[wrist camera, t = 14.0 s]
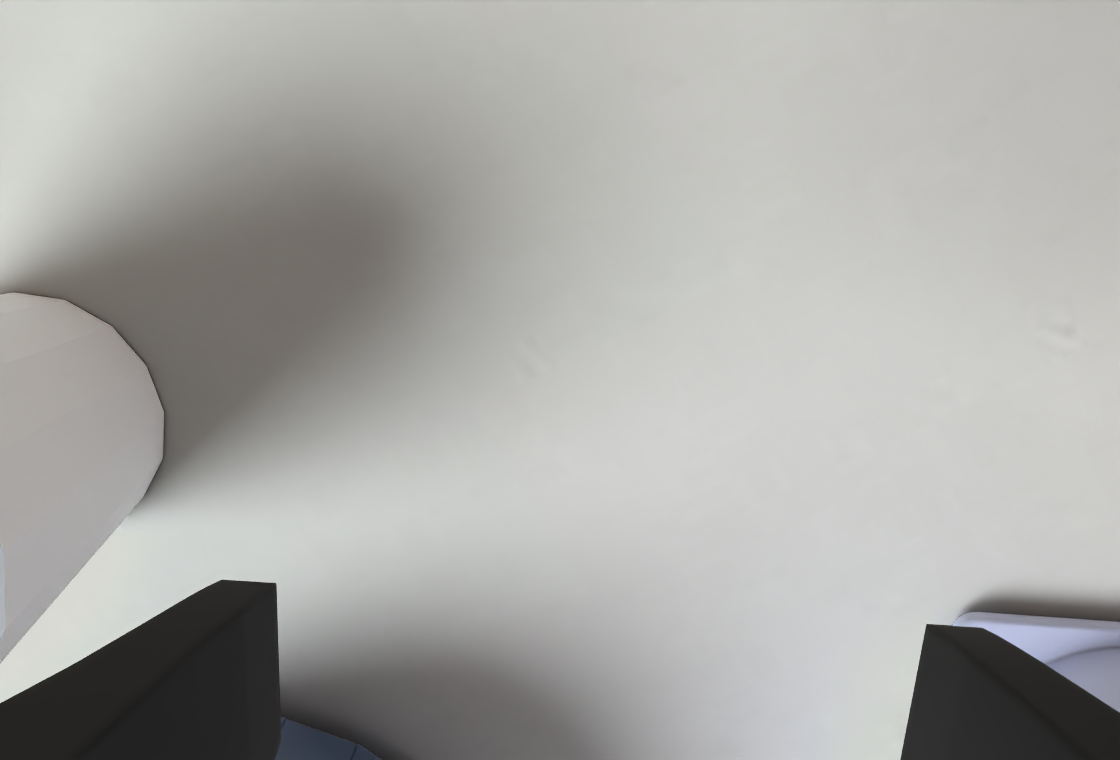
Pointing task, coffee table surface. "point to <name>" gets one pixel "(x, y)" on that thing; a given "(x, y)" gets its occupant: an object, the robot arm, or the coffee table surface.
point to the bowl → (317, 745)
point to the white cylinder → (65, 448)
